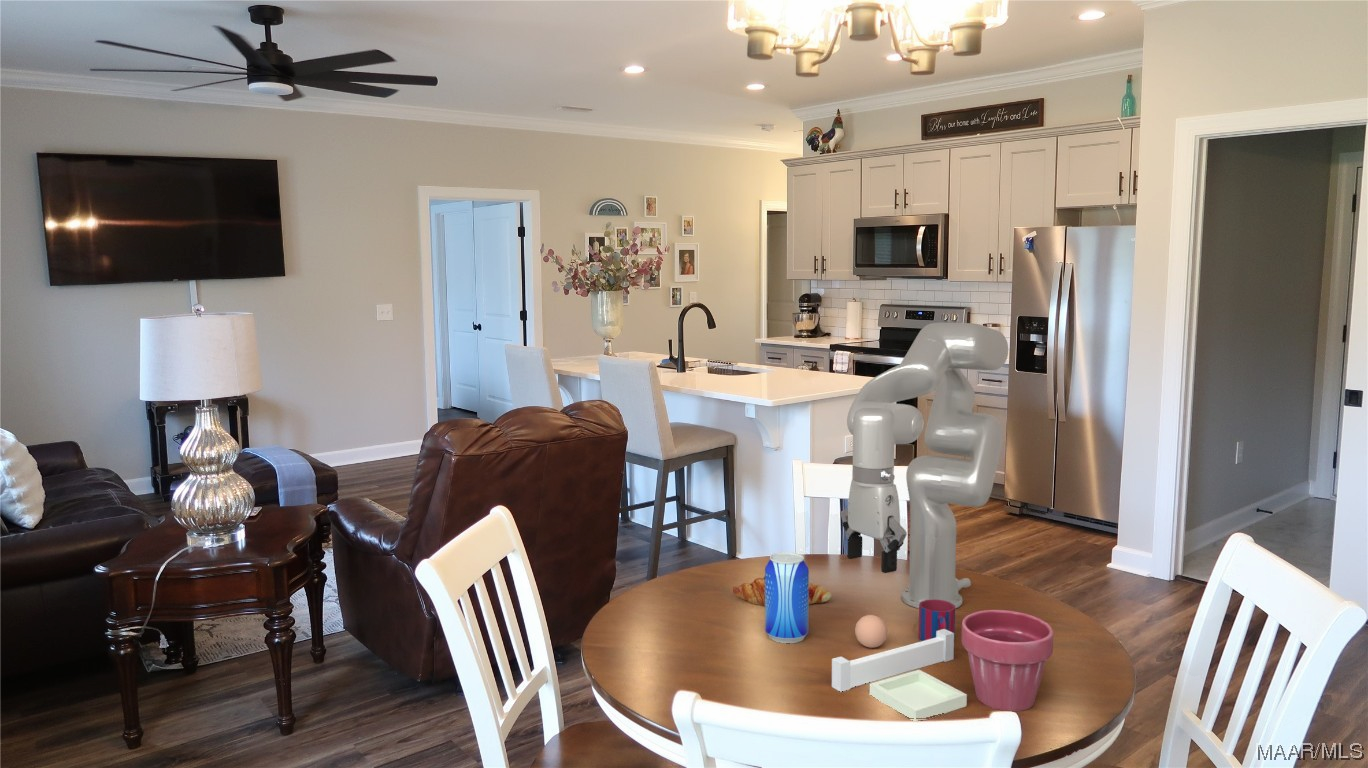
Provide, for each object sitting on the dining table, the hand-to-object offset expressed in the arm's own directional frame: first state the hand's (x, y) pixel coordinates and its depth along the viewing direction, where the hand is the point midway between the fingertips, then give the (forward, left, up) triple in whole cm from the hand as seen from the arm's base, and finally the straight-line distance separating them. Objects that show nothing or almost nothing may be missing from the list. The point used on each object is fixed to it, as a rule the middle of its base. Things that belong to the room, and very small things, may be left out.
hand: (871, 564), depth 171 cm
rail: (+4, +11, -16) cm, 20 cm away
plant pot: (-5, +28, -16) cm, 33 cm away
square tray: (+8, +21, -16) cm, 28 cm away
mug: (-12, +5, -16) cm, 21 cm away
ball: (0, 0, -16) cm, 16 cm away
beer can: (+11, -12, -16) cm, 23 cm away
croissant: (+1, -28, -17) cm, 33 cm away
